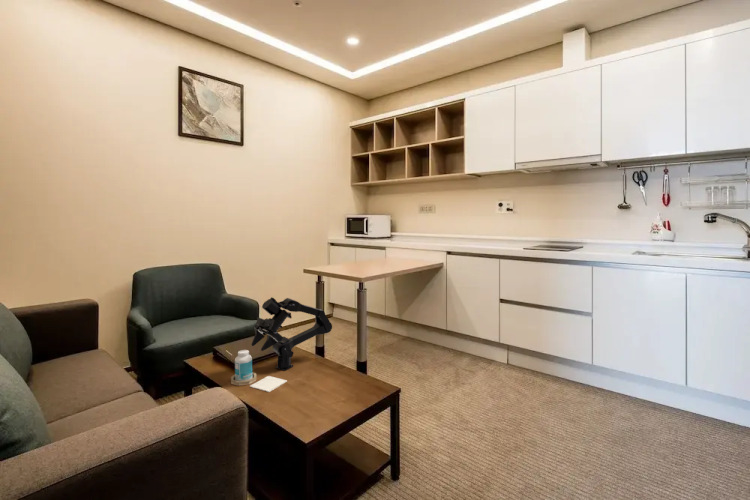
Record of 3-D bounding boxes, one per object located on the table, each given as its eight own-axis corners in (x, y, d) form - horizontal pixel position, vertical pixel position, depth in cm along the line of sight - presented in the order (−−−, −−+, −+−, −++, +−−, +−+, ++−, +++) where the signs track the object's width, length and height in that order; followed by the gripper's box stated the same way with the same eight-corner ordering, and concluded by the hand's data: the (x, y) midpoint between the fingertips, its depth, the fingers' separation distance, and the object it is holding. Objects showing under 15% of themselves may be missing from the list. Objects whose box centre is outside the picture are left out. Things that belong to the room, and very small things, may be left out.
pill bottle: (255, 377, 174) (254, 349, 173) (248, 383, 167) (247, 354, 166) (239, 376, 175) (239, 348, 174) (232, 383, 168) (231, 353, 167)
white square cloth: (268, 376, 175) (268, 375, 175) (287, 381, 170) (287, 380, 170) (249, 386, 164) (249, 385, 164) (269, 392, 159) (268, 391, 159)
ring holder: (244, 373, 178) (244, 370, 178) (261, 377, 174) (261, 374, 173) (225, 382, 168) (225, 378, 168) (243, 387, 164) (243, 383, 164)
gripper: (257, 307, 183) (235, 334, 177) (276, 314, 170) (254, 344, 163) (271, 320, 190) (251, 346, 183) (291, 328, 176) (271, 356, 170)
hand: (256, 348), depth 175 cm, fingers open, 9 cm apart
